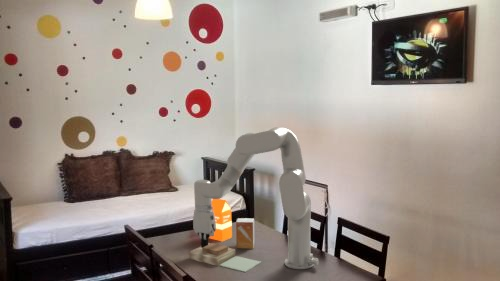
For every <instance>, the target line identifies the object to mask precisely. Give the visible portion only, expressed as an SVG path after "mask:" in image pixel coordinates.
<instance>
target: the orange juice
mask: <svg viewBox="0 0 500 281" xmlns="http://www.w3.org/2000/svg"><path fill="white" fill-rule="evenodd" d="M212 207H213V211H214V215H215V221H216V231H215V232H214V236H212V237H209V238H208V239H211V240H216V241H219V242H224V241H226V240H227V241H228V240H229V239H231V238H232V237H233V224H232V223H233V221H232V209H231V206H230V205H229V203H228V201H227V200H226V199H222V198H220V199H212Z"/></svg>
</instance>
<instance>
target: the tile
mask: <svg viewBox="0 0 500 281" xmlns="http://www.w3.org/2000/svg"><path fill="white" fill-rule="evenodd" d="M228 248H229V246H227V245H223V244H218V243H214V242H211V243H209V245H207V246H205V247H203V248H202V252H204V253H209V254H213V255H217V256H219V255H221V254H223V253H225V252H227V251H228Z"/></svg>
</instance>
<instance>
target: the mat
mask: <svg viewBox="0 0 500 281" xmlns="http://www.w3.org/2000/svg"><path fill="white" fill-rule="evenodd" d="M261 263H262V261H261V260H260V261H259V260H255V259H253V258H252V259H251V258H246V257H242V256H238V255H236V256H235V257H233V258H231V259H229V260H227V261H226V262H224V263H222V264H220V265H219V267H223V268H228V269H230V270H231V269H232V270H235V271H239V272H243V273H247V272H249V271H250V270H252V269H254V268H255V267H256V266H258V265H260V264H261Z"/></svg>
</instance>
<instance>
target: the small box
mask: <svg viewBox="0 0 500 281" xmlns="http://www.w3.org/2000/svg"><path fill="white" fill-rule="evenodd" d="M235 227H236V228H235V229H236V230H235V232H236V233H235V234H236V237H235V240H236V249H251V250H252V249H254V247H255V218H254V217H253V218H251V217H250V218H247V217H245V218H244V217H241V218H239V217H238V218H236V223H235Z"/></svg>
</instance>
